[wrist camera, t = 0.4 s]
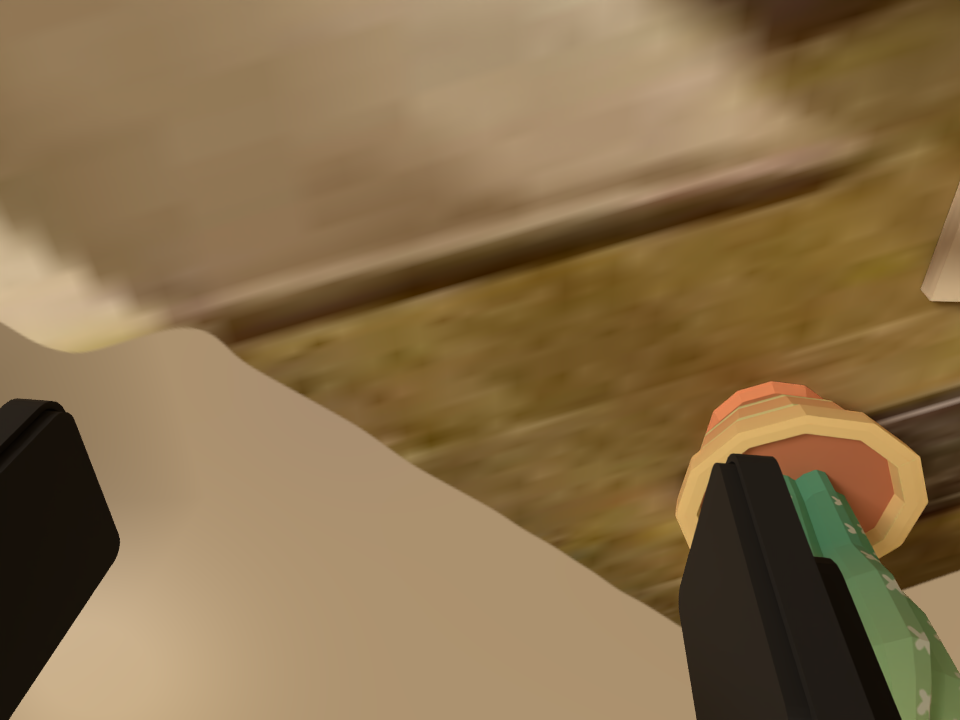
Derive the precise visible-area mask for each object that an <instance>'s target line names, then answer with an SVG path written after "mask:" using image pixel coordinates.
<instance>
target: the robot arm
mask: <svg viewBox="0 0 960 720" xmlns="http://www.w3.org/2000/svg"><path fill="white" fill-rule="evenodd" d="M119 546H120V538H119V534H118V531H117V529H116V526H115V524H114V521H113V519H112V516H111V513H110V511H109V508H108V506H107V503H106V501H105V498H104V495H103V493H102V490H101V487H100V485H99V483H98V480H97V477H96V474H95V472H94V469H93V467H92V464H91V462H90V459H89V456H88V454H87V451H86V449H85V446H84V443H83V441H82V439H81V436H80V433H79V430H78V428H77V425H76V423H75V420H74V418H73V417H72V415H71V414H69V413H67V412H65V410H64V409H63V407H62V406H61V405H60V404H59V403H57V402H53V401H44V400H31V399H13V400H10V401H9V402H7V403H6V404H4V405H3V406H2V407H1V408H0V720H9V719H10V717H11V715H12V714H13V712H14V711H15V709H16V708H17V706H18V705H19V703H20V702H21V700H22V699H23V697H24V696H25V694H26V693H27V691H28V690H29V688H30V687H31V685H32V684H33V682H34V681H35V679H36V678H37V676H38V675H39V673H40V672H41V670H42V669H43V667H44V666H45V664H46V663H47V661H48V660H49V658H50V657H51V655H52V654H53V652H54V651H55V649H56V648H57V646H58V645H59V643H60V642H61V640H62V639H63V637H64V636H65V634H66V633H67V631H68V630H69V628H70V627H71V625H72V624H73V622H74V621H75V619H76V618H77V616H78V615H79V613H80V612H81V610H82V609H83V607H84V606H85V604H86V603H87V601H88V600H89V598H90V596H91V595H92V594H93V592H94V590H95V589H96V588H97V586H98V585H99V583H100V582H101V580H102V579H103V577H104V576H105V574H106V573H107V571H108V570H109V568H110V567H111V565H112V564H113V562H114V561H115V559H116V557H117V554H118V551H119ZM679 613H680V619H681V626H682V632H683V638H684V644H685V650H686V656H687V663H688V669H689V675H690V681H691V687H692V693H693V700H694V706H695V711H696V718H697V720H902V719H901V716H900V714H899V711H898V709H897V706H896V704H895V701H894V699H893V697H892V694H891V692H890V689H889V687H888V684H887V682H886V679H885V677H884V675H883V672H882V670H881V667H880V665H879V662H878V660H877V657H876V655H875V653H874V650H873V648H872V645H871V643H870V640H869V638H868V635H867V633H866V631H865V628H864V626H863V623H862V621H861V618H860V616H859V613H858V611H857V609H856V606H855V604H854V601H853V599H852V596H851V594H850V591H849V589H848V587H847V584H846V582H845V579H844V577H843V574H842V573H841V571H840V569H839V567H838V565H837V564H836V563H835V562H834V561H833V560H832V559H831V558H825V557H815V556H813V554H812V551H811V548H810V546H809V543H808V541H807V538H806V535H805V533H804V530H803V527H802V525H801V522H800V519H799V517H798V514H797V511H796V509H795V506H794V503H793V501H792V498H791V495H790V493H789V490H788V487H787V485H786V482H785V479H784V477H783V474H782V471H781V469H780V466H779V464H778V462H777V460H776V459H775V458H774V457H773V456H761V455H748V454H735V453H733V454H730V455H729V457H728V458H727V461H726V463H715V464H714V465H713V468H712V470H711V474H710V478H709V482H708V485H707V489H706V493H705V496H704V500H703V504H702V507H701V511H700V515H699V518H698V522H697V526H696V529H695V533H694V537H693V541H692V544H691V548H690V552H689V555H688V559H687V563H686V566H685V570H684V574H683V577H682V581H681V585H680V590H679Z"/></svg>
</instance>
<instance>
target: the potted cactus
mask: <svg viewBox="0 0 960 720" xmlns="http://www.w3.org/2000/svg"><path fill="white" fill-rule="evenodd" d="M733 453H735V454H748V455H761V456H773V457H774V458H775V459H776V460H777V462H778V464H779V466H780V469H781V471H782V474H783V477H784V479H785V482H786V485H787V487H788V490H789V493H790V495H791V498H792V501H793V503H794V506H795V509H796V511H797V514H798V517H799V519H800V522H801V525H802V527H803V530H804V533H805V535H806V538H807V541H808V543H809V546H810V548H811V551H812V554H813V556H815V557H825V558H831V559H832V560H833V561H834V562H835V563H836V564H837V565H838V567H839V569H840V571H841V573H842V574H843V577H844V579H845V582H846V584H847V587H848V589H849V591H850V594H851V596H852V599H853V601H854V604H855V606H856V609H857V611H858V613H859V616H860V618H861V621H862V623H863V626H864V628H865V631H866V633H867V635H868V638H869V640H870V643H871V645H872V648H873V650H874V653H875V655H876V657H877V660H878V662H879V665H880V667H881V670H882V672H883V675H884V677H885V679H886V682H887V684H888V687H889V689H890V692H891V694H892V697H893V699H894V701H895V704H896V706H897V709H898V711H899V714H900V716H901V719H902V720H960V673H959V672H958V670H957V668H956V667H955V665H954V663H953V661H952V659H951V658H950V656H949V654H948V653H947V651H946V649H945V647H944V646H943V644H942V642H941V641H940V639H939V637H938V635H937V634H936V632H935V630H934V628H933V627H932V625H931V623H930V621H929V620H928V618H927V616H926V614H925V613H924V612H923V611H922V610H921V609H920V608H918V606H917V605H916V604H915V603H914V602H913V601H912V600H911V599H910V598H909V597H908V596H906V594H905V593H904V592H903V591H902V590H901V589H900V587H899V586H898V584H897V582H896V580H895V578H894V576H893V575H892V574H891V573H890V572H889V571H888V570H887V569H886V568H885V567H884V566H883V565H882V564H881V562H880V560H879V558H881V557H882V556H884V555H886V554H887V553H889V552H891V551H892V550H894V549H896V548H897V547H899V546H901V545H902V543H903V542H904V540H905V539H906V537H907V535H908V534H909V532H910V531H911V529H912V527H913V526H914V524H915V523H916V521H917V519H918V518H919V516H920V515H921V513H922V511H923V510H924V508H925V507H926V505H927V503H928V498H927V492H926V487H925V481H924V476H923V470H922V465H921V459H920V456H919V455H917V454H916V453H915V452H914V451H913V450H912V449H911V448H909V447H908V446H907V445H906V444H905V443H904V442H902V441H901V440H900V439H898V438H897V437H896V436H894V435H893V434H891V433H890V432H889V431H887V430H886V429H885V428H883V427H882V426H881V425H879V424H878V423H877V422H875V421H874V420H873V419H871V418H870V417H868V416H867V415H866V414H864V413H863V412H856V411H848V410H844V409H843V408H841V407H840V406H838V405H837V404H835V403H834V402H832V401H831V400H824V399H823V398H821V397H820V396H818V395H817V394H816V393H814V392H813V391H812V390H810V389H809V388H807V387H806V386H805V385H797V384H789V383H781V382H773V381H770V382H767V383H763V384H760V385H756V386H753V387H749V388H746V389H742V390H739V391H737V392H736V393H734V394H733V395H732V396H731V397H730V398H729V399H727V400H726V401H725V402H724V403H723V404H721V405H720V406H719V407H718V408H717V409H715V410H714V411H713V414H712V417H711V420H710V423H709V426H708V428H707V431H706V434H705V437H704V440H703V443H702V445H701V448H700V451H699V452H698V453H696V454H695V455H694V456H693V457H692V458H691V461H690V464H689V466H688V469H687V472H686V475H685V478H684V481H683V484H682V487H681V490H680V493H679V496H678V499H677V506H676V514H675V516H676V518H677V520H678V522H679V525H680V527H681V529H682V532H683V534H684V536H685V539H686V541H687V543H688V545H689V548H691V544H692V541H693V537H694V533H695V529H696V526H697V522H698V518H699V515H700V511H701V507H702V504H703V500H704V496H705V493H706V489H707V485H708V482H709V478H710V474H711V470H712V468H713V465H714V464H715V463H726V461H727V458H728V457H729V455H730V454H733Z"/></svg>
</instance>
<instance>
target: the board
mask: <svg viewBox="0 0 960 720" xmlns="http://www.w3.org/2000/svg"><path fill="white" fill-rule="evenodd" d="M921 291H922V292H923V293H924V294H925V295H926V296H927V297H928V298H929V300H930V301H950V302H960V183H959V186H958V188H957V191H956V194H955V197H954V199H953V202H952V205H951V208H950V210H949V213H948V216H947V219H946V221H945V224H944V227H943V230H942V232H941V235H940V238H939V240H938V243H937V246H936V249H935V251H934V254H933V257H932V260H931V262H930V265H929V268H928V271H927V273H926V276H925V279H924V282H923V284H922V287H921Z"/></svg>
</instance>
